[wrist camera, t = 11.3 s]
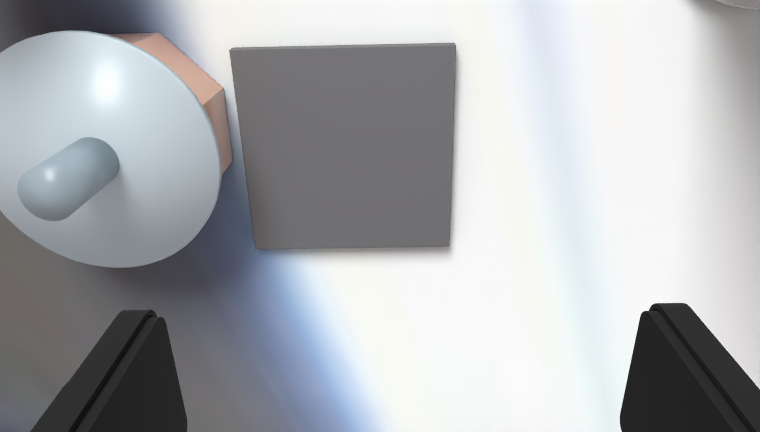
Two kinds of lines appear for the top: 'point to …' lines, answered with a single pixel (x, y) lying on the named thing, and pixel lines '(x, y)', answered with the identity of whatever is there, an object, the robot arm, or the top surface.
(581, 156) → the top surface
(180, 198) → the lid
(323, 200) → the mat
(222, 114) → the bowl
